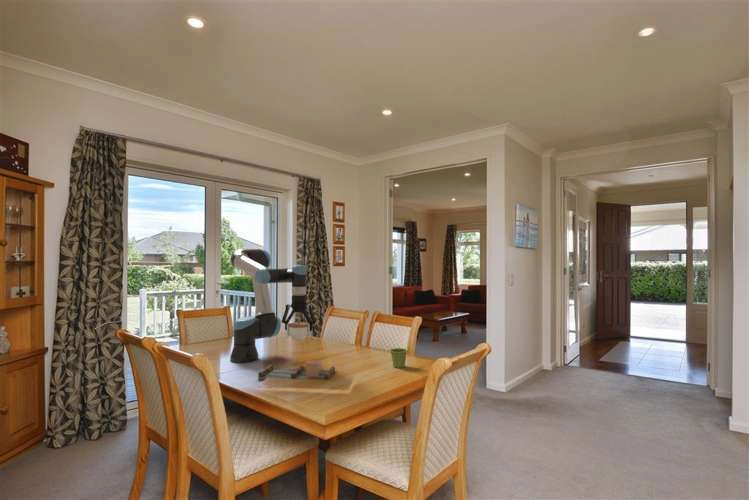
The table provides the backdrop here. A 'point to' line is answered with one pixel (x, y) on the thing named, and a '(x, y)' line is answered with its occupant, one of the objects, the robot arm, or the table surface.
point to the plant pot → (398, 357)
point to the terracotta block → (313, 368)
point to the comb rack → (292, 373)
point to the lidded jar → (298, 330)
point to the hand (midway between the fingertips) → (298, 336)
